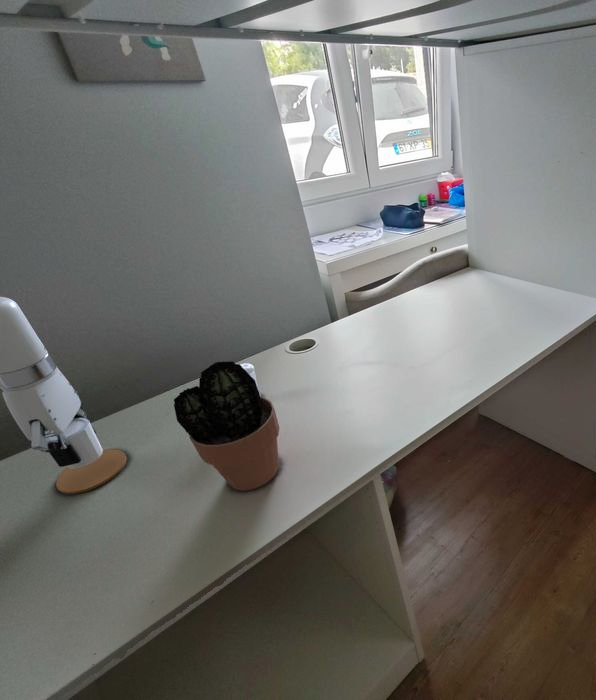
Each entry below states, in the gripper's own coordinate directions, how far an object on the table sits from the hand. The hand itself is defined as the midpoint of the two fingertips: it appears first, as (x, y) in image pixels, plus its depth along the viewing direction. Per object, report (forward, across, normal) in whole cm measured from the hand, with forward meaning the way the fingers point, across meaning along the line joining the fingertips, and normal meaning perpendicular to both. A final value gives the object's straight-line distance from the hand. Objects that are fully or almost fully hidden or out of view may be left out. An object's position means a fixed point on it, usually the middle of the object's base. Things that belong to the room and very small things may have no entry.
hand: (78, 449), depth 83 cm
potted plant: (+6, +12, +30) cm, 33 cm away
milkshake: (+6, -13, +28) cm, 31 cm away
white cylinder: (+2, 0, 0) cm, 2 cm away
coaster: (+6, 0, 0) cm, 6 cm away
